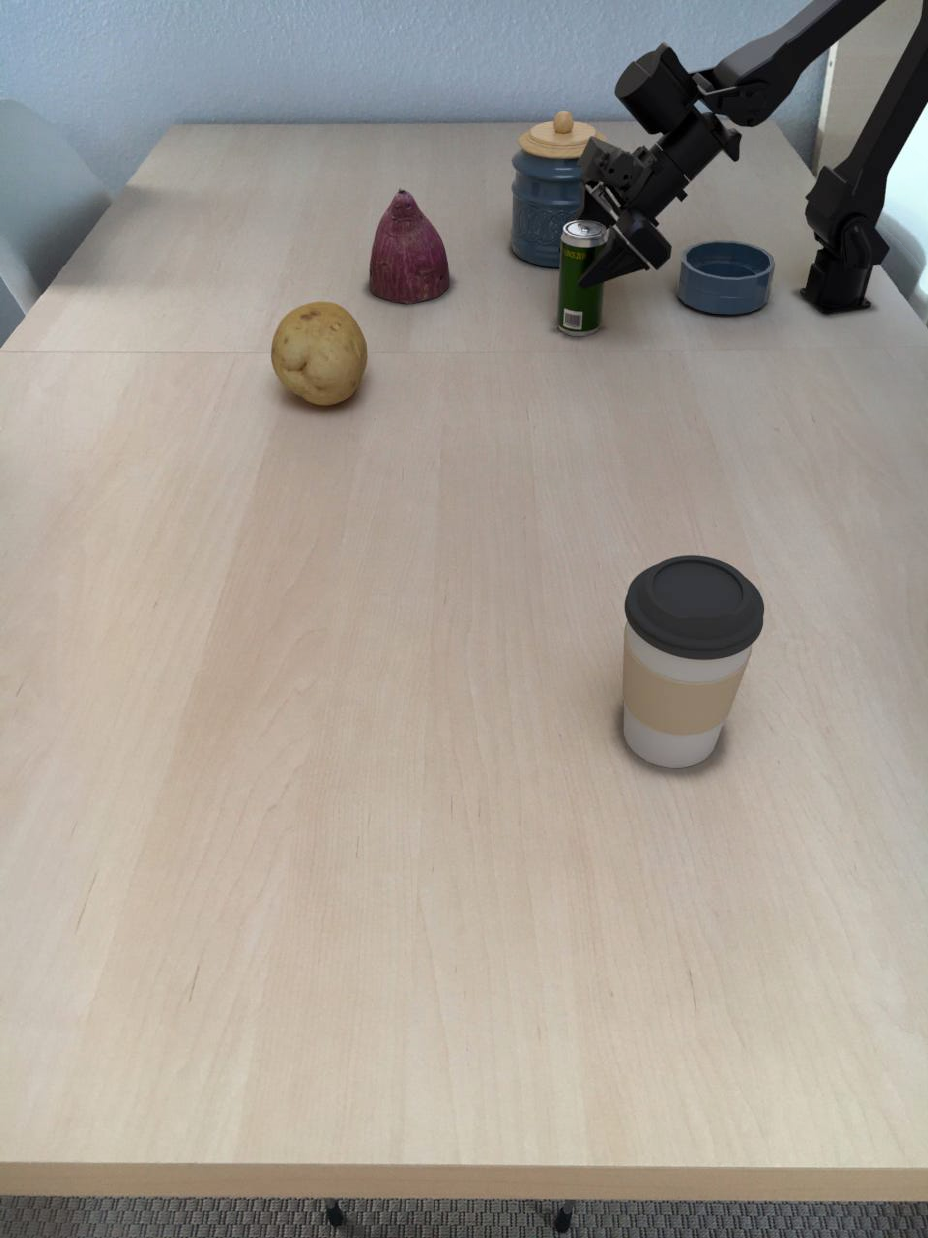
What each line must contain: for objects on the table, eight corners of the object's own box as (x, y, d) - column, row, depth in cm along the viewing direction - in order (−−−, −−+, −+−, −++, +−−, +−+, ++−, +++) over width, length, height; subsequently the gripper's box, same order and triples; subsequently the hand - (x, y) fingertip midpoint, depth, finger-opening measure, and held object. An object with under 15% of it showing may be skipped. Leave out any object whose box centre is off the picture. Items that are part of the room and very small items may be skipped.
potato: (374, 362, 115) (366, 279, 108) (366, 421, 106) (358, 335, 99) (286, 363, 115) (273, 281, 108) (271, 423, 106) (256, 337, 99)
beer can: (597, 339, 118) (605, 240, 110) (552, 334, 119) (557, 236, 111) (603, 318, 122) (611, 221, 113) (560, 314, 123) (565, 217, 114)
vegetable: (438, 327, 128) (443, 228, 115) (360, 311, 128) (356, 211, 115) (456, 273, 133) (463, 173, 120) (382, 258, 134) (380, 157, 121)
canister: (496, 261, 134) (497, 121, 122) (528, 224, 143) (532, 91, 131) (589, 275, 130) (599, 133, 118) (616, 237, 139) (628, 100, 127)
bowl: (741, 273, 130) (748, 235, 127) (783, 310, 122) (791, 271, 119) (662, 284, 128) (667, 246, 125) (699, 323, 120) (705, 284, 117)
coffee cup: (599, 692, 77) (615, 542, 67) (713, 683, 78) (747, 533, 67) (622, 785, 71) (644, 636, 60) (746, 775, 71) (790, 625, 61)
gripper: (603, 84, 111) (505, 193, 117) (655, 140, 97) (542, 259, 104) (662, 152, 117) (567, 252, 123) (719, 213, 104) (608, 322, 110)
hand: (569, 269), depth 115 cm, fingers open, 9 cm apart
